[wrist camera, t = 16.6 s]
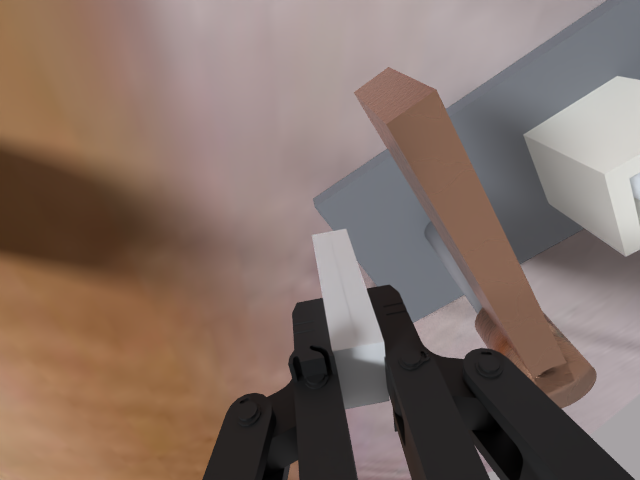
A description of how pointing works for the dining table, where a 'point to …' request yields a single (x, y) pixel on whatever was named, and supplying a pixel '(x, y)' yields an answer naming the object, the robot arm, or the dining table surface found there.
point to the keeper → (472, 233)
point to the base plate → (485, 163)
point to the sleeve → (594, 162)
